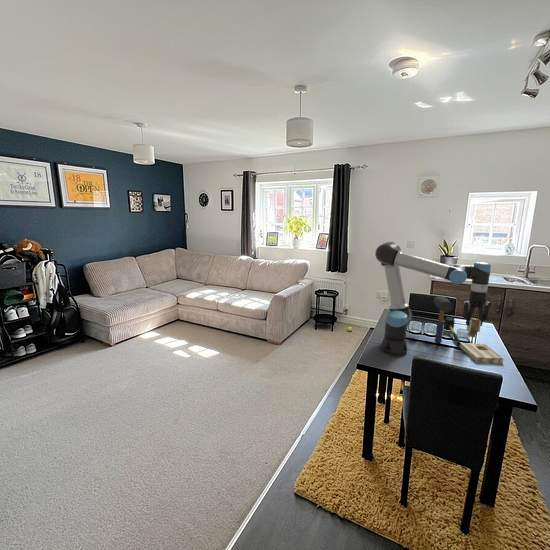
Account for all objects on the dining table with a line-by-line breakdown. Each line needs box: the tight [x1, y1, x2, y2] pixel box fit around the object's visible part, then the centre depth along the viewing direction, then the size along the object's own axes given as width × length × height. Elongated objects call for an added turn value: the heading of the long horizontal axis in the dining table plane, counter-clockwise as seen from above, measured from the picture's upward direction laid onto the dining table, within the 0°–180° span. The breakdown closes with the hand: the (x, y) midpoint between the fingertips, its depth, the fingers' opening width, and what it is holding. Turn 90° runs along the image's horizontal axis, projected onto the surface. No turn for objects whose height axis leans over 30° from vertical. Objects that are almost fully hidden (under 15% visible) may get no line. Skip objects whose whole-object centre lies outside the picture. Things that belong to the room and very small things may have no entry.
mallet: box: [443, 316, 462, 347], centre depth 199 cm, size 29×6×10 cm, turn 164°
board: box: [459, 342, 504, 364], centre depth 175 cm, size 14×18×3 cm
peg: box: [468, 317, 479, 338], centre depth 167 cm, size 4×4×10 cm
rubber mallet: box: [433, 295, 453, 344], centre depth 187 cm, size 12×8×30 cm, turn 171°
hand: (472, 330), depth 168 cm, fingers closed on peg, 4 cm apart
